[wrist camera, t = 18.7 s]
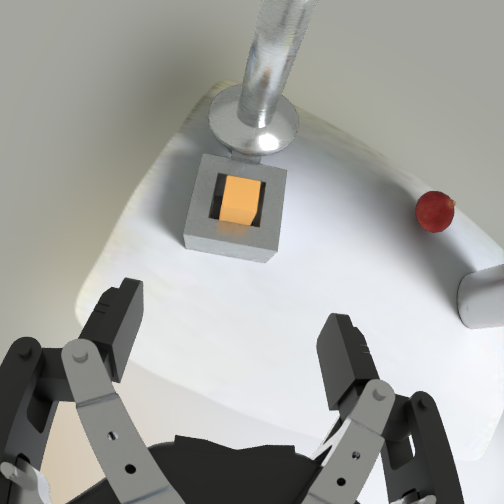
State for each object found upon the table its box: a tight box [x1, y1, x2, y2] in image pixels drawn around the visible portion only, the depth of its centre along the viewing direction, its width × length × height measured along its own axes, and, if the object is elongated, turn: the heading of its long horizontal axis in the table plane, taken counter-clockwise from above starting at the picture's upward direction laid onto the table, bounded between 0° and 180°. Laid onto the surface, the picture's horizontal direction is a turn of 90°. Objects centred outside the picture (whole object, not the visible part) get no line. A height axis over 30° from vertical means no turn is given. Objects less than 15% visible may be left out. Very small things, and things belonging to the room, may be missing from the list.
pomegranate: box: [416, 191, 456, 233], centre depth 35 cm, size 6×6×8 cm
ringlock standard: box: [183, 0, 318, 263], centre depth 21 cm, size 10×20×30 cm, turn 171°
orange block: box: [219, 175, 261, 226], centre depth 29 cm, size 3×3×9 cm
